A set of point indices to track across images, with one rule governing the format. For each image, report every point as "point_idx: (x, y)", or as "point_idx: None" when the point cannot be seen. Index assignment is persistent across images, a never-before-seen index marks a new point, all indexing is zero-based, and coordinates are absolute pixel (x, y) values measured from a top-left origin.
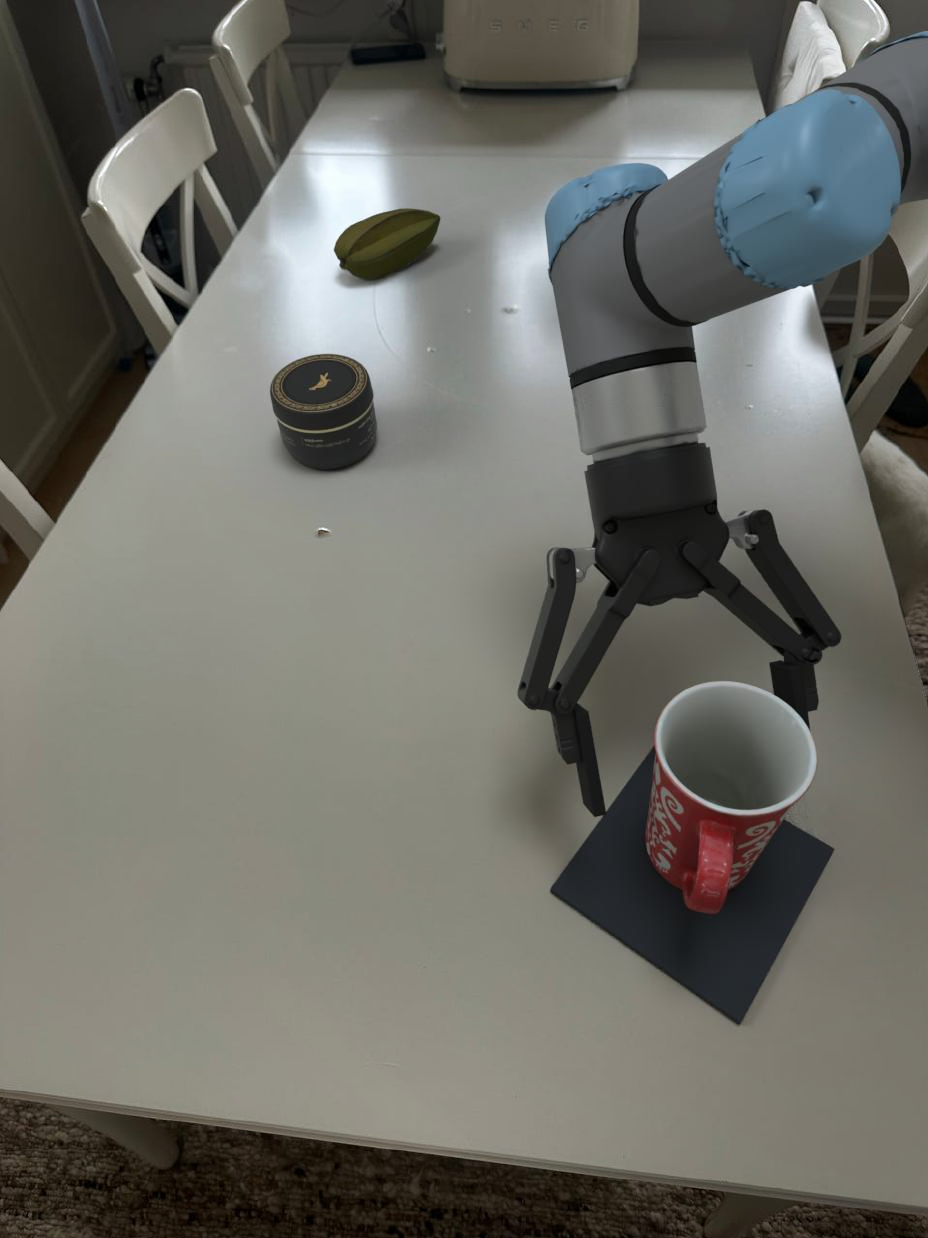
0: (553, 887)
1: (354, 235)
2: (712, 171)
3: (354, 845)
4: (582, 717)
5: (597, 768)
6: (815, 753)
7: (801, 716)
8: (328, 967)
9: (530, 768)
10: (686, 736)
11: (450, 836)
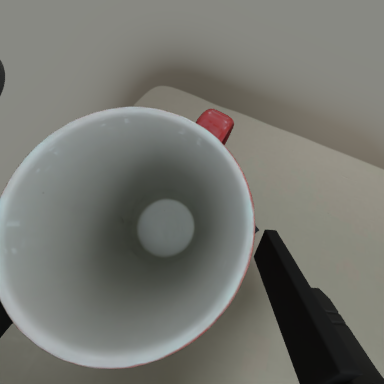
0: (257, 230)
1: None
2: None
3: (368, 299)
4: (346, 361)
5: (287, 270)
6: (25, 159)
7: None
8: (377, 228)
9: (247, 321)
10: (159, 285)
11: None
